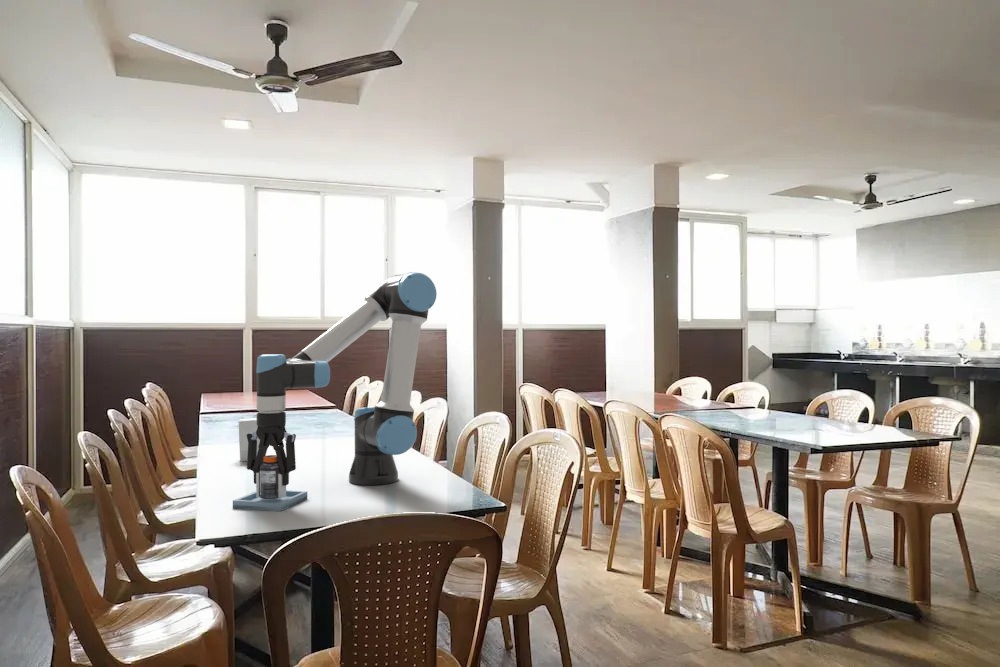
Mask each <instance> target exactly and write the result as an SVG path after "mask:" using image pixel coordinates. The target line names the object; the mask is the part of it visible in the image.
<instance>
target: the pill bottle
mask: <svg viewBox="0 0 1000 667" xmlns="http://www.w3.org/2000/svg"><path fill="white" fill-rule="evenodd" d="M263 461H264V463H263V464H262V465H261V466H260V498H261V499H266V500H271V499H278V474H280V473H281V470H280V466H279V463H278V459H277V456H276V454H270V455H269V454H268V455H267V454H266V456H264V460H263Z"/></svg>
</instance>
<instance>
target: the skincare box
mask: <svg viewBox="0 0 1000 667" xmlns="http://www.w3.org/2000/svg"><path fill="white" fill-rule="evenodd" d="M257 428H258V426H257V417H256V418H255V417H253V418H240V419H239V421H238V438H239V439H238V441H239V442H238V443H239V461H240V462H247V456H248V439H247V434H248V433H253V432H256V430H257ZM259 443H260V440H259V438H257V453H258V450H259V448H258V446H259ZM256 457H257V454H256Z"/></svg>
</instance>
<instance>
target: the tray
mask: <svg viewBox="0 0 1000 667" xmlns="http://www.w3.org/2000/svg"><path fill="white" fill-rule="evenodd" d="M306 500H308V491H301V490H287V489H286V497H283V498H281V499H280V498H278V499H271V500H266V499H261V498H260V497H256V491H254V492H253V491H252V492H251V493H249V494H246V495H242V496H241V497H237V498H235V499H233V500H232V508H233V509H242V510H256V511H257V510H258V511H270V512H271V511H272V512H282V511H284V510H286V509H289V508H291V507H293V506H295V505H297V504H300V503H302V502H304V501H306Z"/></svg>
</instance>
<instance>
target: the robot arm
mask: <svg viewBox="0 0 1000 667" xmlns="http://www.w3.org/2000/svg"><path fill="white" fill-rule="evenodd" d="M436 300H437V287H436V284H435V283H434V282H433V280H432V279H431V278H430V277H429V276H428V275H427V274H424V273H422V272H417V271H416V272H412V271H408V272H406V273H403V274H401V273H400V274H395V275H392V276H390V277H388V278H387V279H385V280H383V282H382V283H380V285H378V286H377V287H376V288H374V289H373V290H371V292H369V293H368V294H367V295H366V296H365V297H364V301H363V302H362V303H361V304H359V305H358V306H357V307H355V309H353V310H352V311H351V312H349V313H348V314H347V315H346V316H344V317H343V318H342V319H341V320H339V321H338V322H336V323H335V324H334V325H333V326H331V327H330V328H329V329H327V331H325V332H323V333H322V334H321V335H320V336H319V337H317V338H316V339H315V340H313V341H312V342H311V343H309V344H308V345H307V346H306V347H305V348H303V349H302V350H301V351H299V352H298V353H297V354H295V355H294V356H293V357H290V358H287V357H286V355H285V354H280V353H279V354H275V353H274V354H273V353H272V354H267V353H265V354H260V355H258V357H257V358H256V359H257V360H256V371H255V373H256V411H258V412H257V413H256V418H257V426H258V428H257V430H256V432H253V433H248V434H247V439H248V456H247V461H246V469H247V470H249V471H252V472H253V483H254V485H255V486H256V487H255V492H256V497H260V466H261V465H262V464H263V463H264V461H263V460H264V456H267V452H268V449H269V447H272V448H273V450H274V452H275V455H276V456H277V459H278V463H279V466H280V470H281V473H280V474H278V498H280V499H281V498H283V497H286V490H287V486H288V485H289V483H290V473H291V472H292V471H296V468H297V466H296V464H297V462H296V449H295V448H296V447H295V442H296V438H297V434H295V433H288V431H287V429H286V423H287V422H286V420H287V417H286V415H287V413H286V412H285V410H287V409H286V407H287V406H286V405H287V401H286V397H287V396H286V394H287V392H286V390H287V389H291V390H292V389H314V388H315V389H318V388H324V387H327V386H328V385H329V383H330V380H331V368H330V365H329V362H330V361H332V359H334V358H335V357H336V356H337V355H338V354H340V353H341V352H343V351H344V350H345V349H346V348H348V347H349V346H350V345H352V343H354V342H355V341H356V340H358V339H359V338H360V337H361V336H363V335H364V334H365V333H366V332H368V331H369V330H370V329H371V328H373V327H374V326H375V325H376V324H378V323H379V322H386V321H387V320H388V319H389V318H390V319H391V320H392V324H391V329H390V337H389V344H388V351H387V358H386V359H387V360H386V366H385V372H384V378H383V384H382V385H383V386H382V394H381V398H380V399H381V400H380V401H379V402H378V403H376V404H375V405H374V406H366V407H359V408H356V409H355V412H354V413H355V414H354V419H353V420H354V457H353V461H352V463H351V467H350V470H349V473H348V482H349V483H350V484H351V483H352V484H354V485H359V486H360V485H361V486H380V485H387V484H392V483H395V482H397V481H399V471H398V468H397V465H396V462H395V459H394V456H397V455H402V454H404V453H406V452H408V451H409V450H410V449H411V448H412V447H413V446H414V444H415V442H416V441H417V437H418V429H417V425H416V424H415V422H414V416H415V415H414V414H415V409H414V408H413V406H412V405H411V400H412V399H411V398H412V392H413V385H414V377H415V370H416V364H417V356H418V348H419V342H420V334H421V328H422V325H423V324H424V323H425V322H427V321H428V314H429V310H430V309H431V308H432V307H433V306H434V304H435V302H436ZM257 438H259V440H260V443H259V446H258V448H259V450H258V453H257ZM283 440H284V441H285V444H284V441H283ZM284 448H285V449H284ZM256 454H257V457H256Z"/></svg>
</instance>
